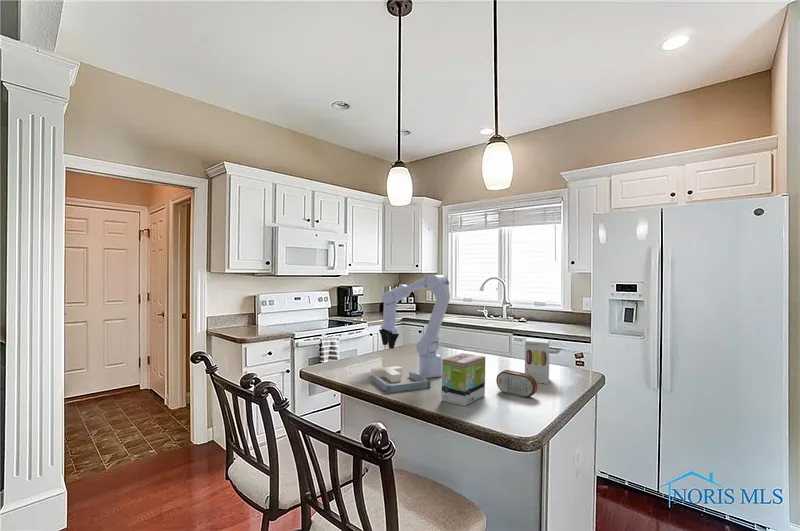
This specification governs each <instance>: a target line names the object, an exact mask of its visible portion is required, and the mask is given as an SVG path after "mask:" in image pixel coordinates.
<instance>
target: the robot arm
mask: <svg viewBox="0 0 800 531" xmlns="http://www.w3.org/2000/svg"><path fill="white" fill-rule="evenodd" d="M450 283H451V282H450V281H449V279H448V277H447V276H446V275H444V274H429V275H427V276H424V277H422V278H420V279H417V280H416V281H415V282H412V283H411V284H399V285H398V287H395V288H391V289H390V291H389V290H386V291H384V292H383V293H382V295H381V301H382V302H383V313H382V315H383V317H382V318H383V319H382V324H381V325H380V329H378V331H379V334H380V337H381V343H382V345H383V346H388V349H390V350H391V349H394V348H395V345H396V342H397V339H398V338H399V335H400V334H399V333H398V329H397V327H396V320H397V319H396V318H397V304H398V302H399V301H401V300H403V299H406V298H409V297H410V296H411V293H412V292H415V291H419V290H420V289H423V288H427V289H428V290H430V292H431V293H432V295H434V297H435V298H436V299H435V303H434V305H433V308H432V312H431V315H430V318H429V320H428V323H427V326H426V330H425V333H423V335H421V336H420V337H421V338H420V340H419V341H418V342H417V343H416V347H415V348H416V352H417V353H418V358H419V360H418V372H415V373H416V374H418V375H420V376H422V377H424V378H426V379H429V378H437V377H442V361H443V359H442V357H441V355H440V354H438V353H437V351H438V349H439V340H440V337H439V332H440V330H441V326H442V324H443V321H444V318H445V314H446V311H447V308H448V305H449V303H450V300H451V293H450Z"/></svg>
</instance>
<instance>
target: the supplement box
mask: <svg viewBox="0 0 800 531" xmlns="http://www.w3.org/2000/svg"><path fill="white" fill-rule="evenodd" d="M524 343H525V344H524V345H525V346H524V373H526V374H529V375H531V376H532V377H533V378H534V379H535V381H536V383H537V384H542V383H544V384H543V385H549V381H550V339H545V338H534V337H533V338H531V337H527V338H526V339H525V342H524Z"/></svg>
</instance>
